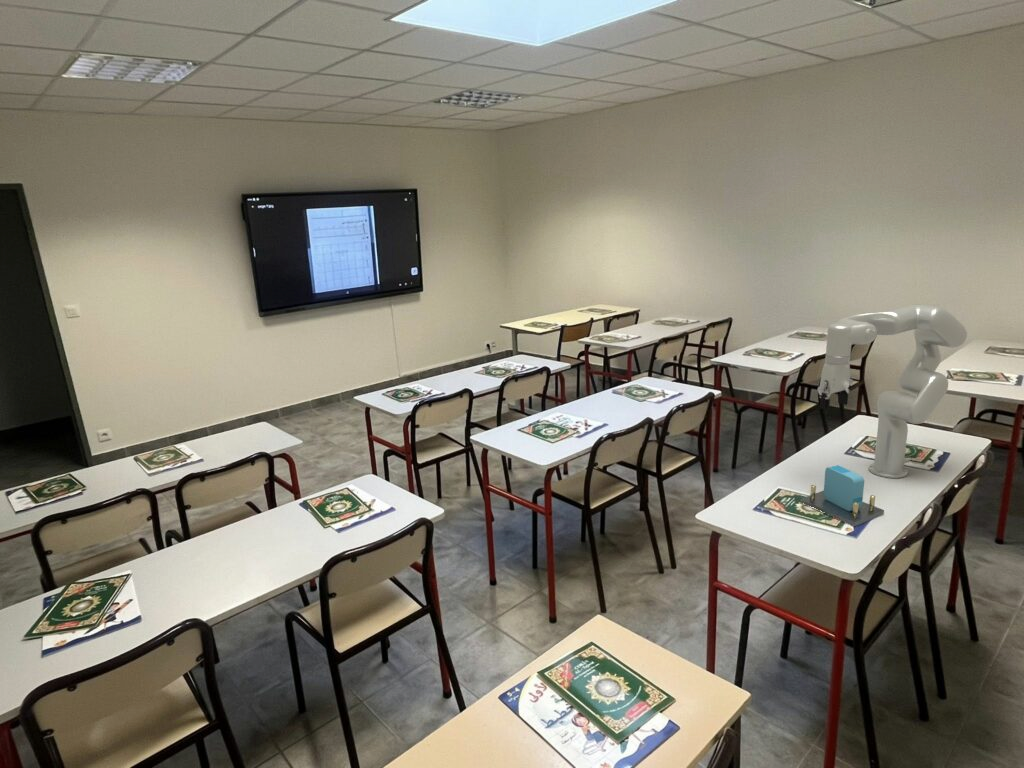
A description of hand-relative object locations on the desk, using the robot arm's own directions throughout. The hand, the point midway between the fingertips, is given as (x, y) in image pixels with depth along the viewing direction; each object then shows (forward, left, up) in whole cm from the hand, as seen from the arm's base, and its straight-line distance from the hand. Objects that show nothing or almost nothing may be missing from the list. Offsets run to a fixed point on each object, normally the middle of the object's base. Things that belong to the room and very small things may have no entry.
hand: (833, 406), depth 216 cm
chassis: (+12, +14, -30) cm, 35 cm away
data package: (+12, +14, -29) cm, 34 cm away
